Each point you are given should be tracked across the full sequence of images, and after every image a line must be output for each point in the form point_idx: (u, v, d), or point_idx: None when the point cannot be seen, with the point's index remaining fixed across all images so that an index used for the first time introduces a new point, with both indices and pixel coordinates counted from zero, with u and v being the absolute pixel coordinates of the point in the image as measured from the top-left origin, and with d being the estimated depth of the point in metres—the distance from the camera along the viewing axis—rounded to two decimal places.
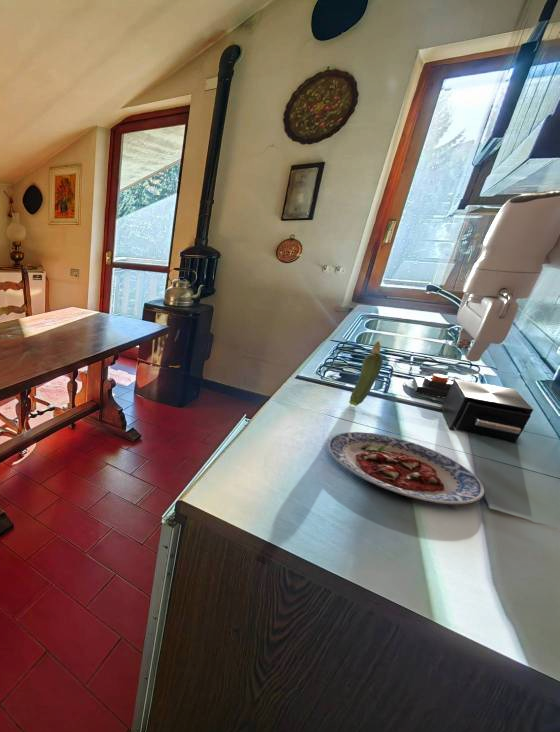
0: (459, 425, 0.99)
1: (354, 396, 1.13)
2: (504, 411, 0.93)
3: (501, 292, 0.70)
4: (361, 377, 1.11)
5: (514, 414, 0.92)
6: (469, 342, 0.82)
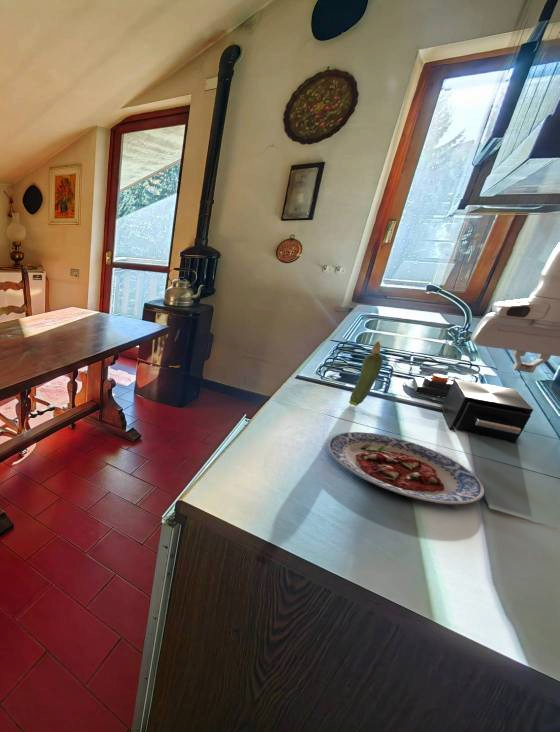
0: (459, 425, 0.99)
1: (354, 396, 1.13)
2: (504, 411, 0.93)
3: None
4: (361, 377, 1.11)
5: (514, 414, 0.92)
6: None
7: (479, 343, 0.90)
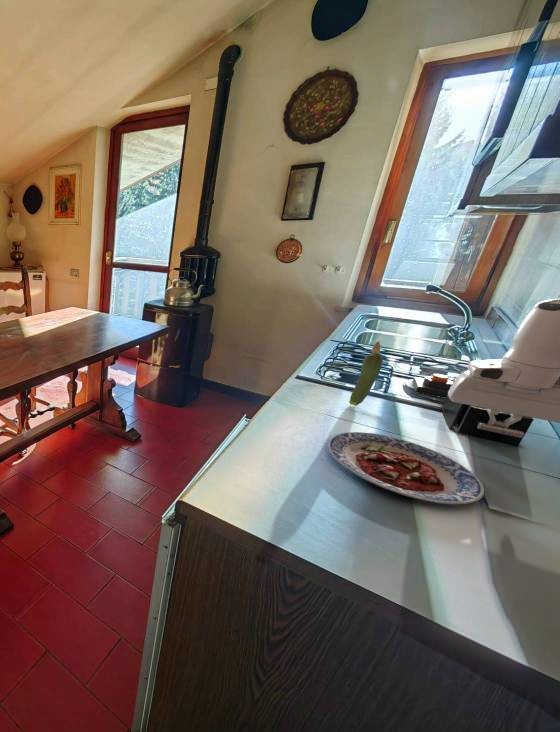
0: (461, 428, 0.97)
1: (354, 396, 1.13)
2: (506, 414, 0.92)
3: None
4: (361, 377, 1.11)
5: None
6: None
7: (455, 400, 0.93)
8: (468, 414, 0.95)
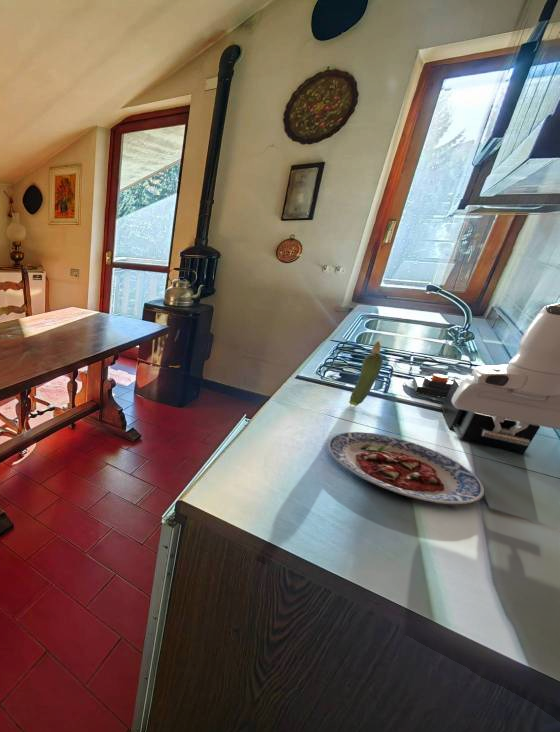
0: (464, 435, 0.94)
1: (354, 396, 1.13)
2: (512, 421, 0.88)
3: None
4: (361, 377, 1.11)
5: None
6: None
7: (459, 407, 0.90)
8: (472, 421, 0.92)
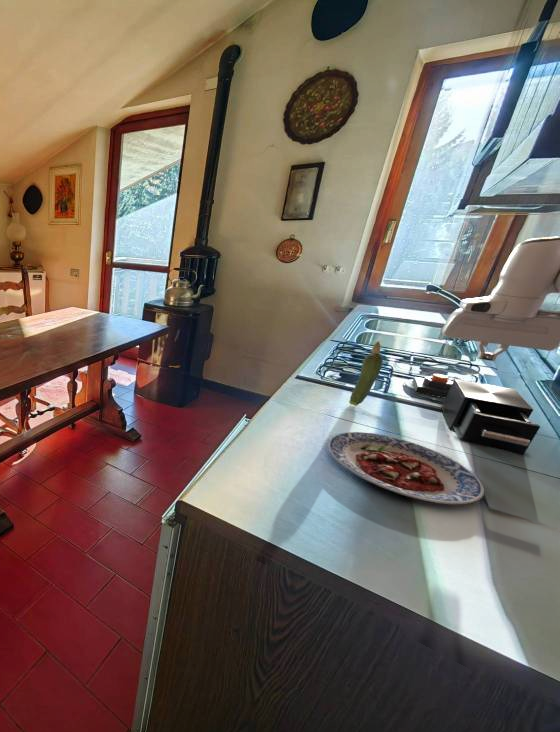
0: (464, 435, 0.94)
1: (354, 396, 1.13)
2: (512, 421, 0.88)
3: (548, 312, 0.92)
4: (361, 377, 1.11)
5: (522, 425, 0.87)
6: None
7: (448, 335, 1.02)
8: (472, 421, 0.92)
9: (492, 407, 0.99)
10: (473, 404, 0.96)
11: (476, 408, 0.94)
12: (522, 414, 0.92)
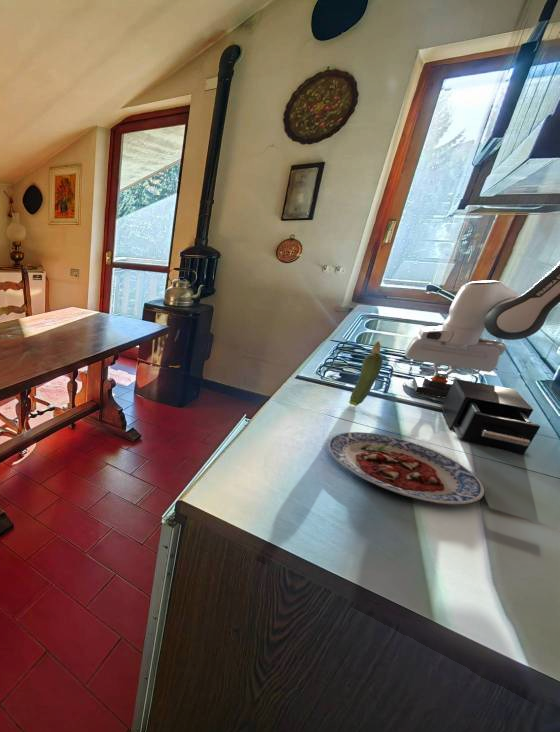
0: (464, 435, 0.94)
1: (354, 396, 1.13)
2: (512, 421, 0.88)
3: (487, 341, 1.13)
4: (361, 377, 1.11)
5: (522, 425, 0.87)
6: None
7: (409, 357, 1.24)
8: (472, 421, 0.92)
9: (492, 407, 0.99)
10: (473, 404, 0.96)
11: (476, 408, 0.94)
12: (522, 414, 0.92)
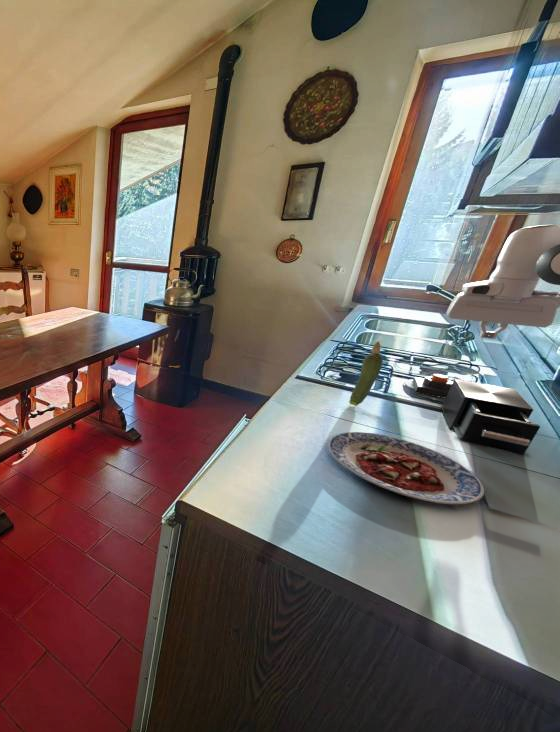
0: (464, 435, 0.94)
1: (354, 396, 1.13)
2: (512, 421, 0.88)
3: (541, 293, 1.02)
4: (361, 377, 1.11)
5: (522, 425, 0.87)
6: None
7: (452, 316, 1.13)
8: (472, 421, 0.92)
9: (492, 407, 0.99)
10: (473, 404, 0.96)
11: (476, 408, 0.94)
12: (522, 414, 0.92)
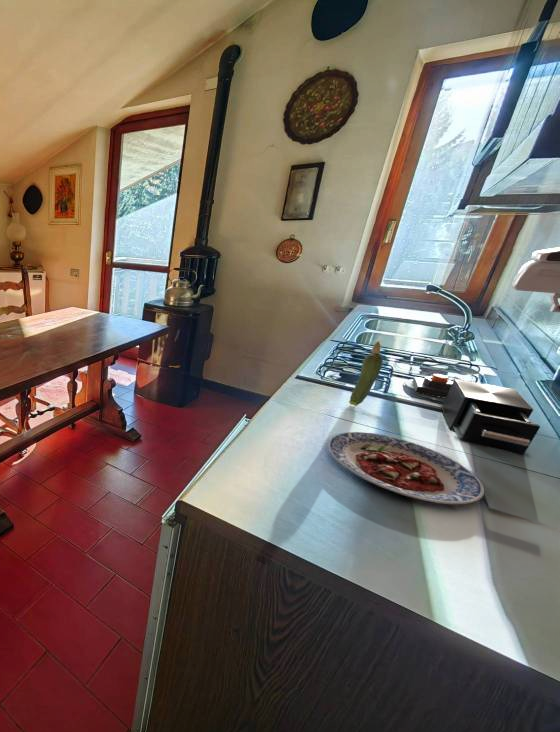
0: (464, 435, 0.94)
1: (354, 396, 1.13)
2: (512, 421, 0.88)
3: None
4: (361, 377, 1.11)
5: (522, 425, 0.87)
6: None
7: (520, 288, 1.00)
8: (472, 421, 0.92)
9: (492, 407, 0.99)
10: (473, 404, 0.96)
11: (476, 408, 0.94)
12: (522, 414, 0.92)
